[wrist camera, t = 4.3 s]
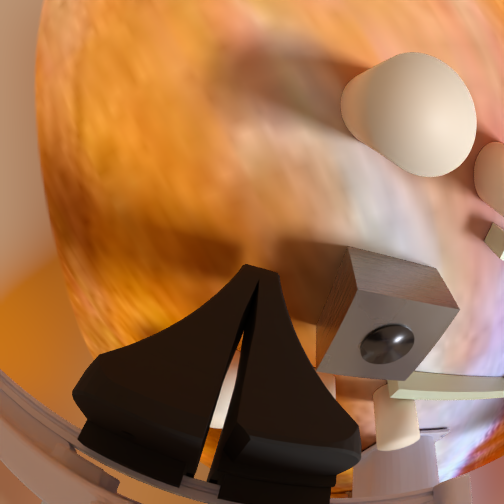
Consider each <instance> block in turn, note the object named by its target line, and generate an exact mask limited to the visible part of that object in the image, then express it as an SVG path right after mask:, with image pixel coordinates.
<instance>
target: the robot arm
mask: <svg viewBox="0 0 504 504" xmlns="http://www.w3.org/2000/svg"><path fill="white" fill-rule="evenodd" d="M243 331H244V334H243ZM242 334H243V340H242V346H241V352H240V358H239V364H238V370H237V376H236V381H235V386H234V390H233V393H232V397H231V400H230V404H229V408H228V411H227V415H226V418H225V422H224V425H223V428H222V432H221V435H220V439H219V442H218V445H217V449H216V452H215V455H214V459H213V462H212V465H211V469H210V472H209V475H208V478H207V482H205V481H201V480H198V479H194V475H195V473H196V470H197V467H198V464H199V461H200V457H201V454H202V451H203V448H204V444H205V441H206V438H207V434H208V431H209V428H210V424H211V421H212V418H213V415H214V411H215V408H216V405H217V401H218V398H219V395H220V391H221V388H222V385H223V382H224V379H225V376H226V374H227V371H228V369H229V366H230V364H231V361H232V359H233V356H234V354H235V351H236V349H237V346H238V344H239V342H240V339H241V337H242ZM72 396H73V399H74V401H75V402H76V404H77V406H78V407H79V408H80V410H81V411H82V412H83V414H84V415H85V417H86V418H87V421H86V423H85V425H84V427H83V429H82V430H81V429H80V428H78V427H76V426H75V425H73V424H71V423H70V422H68V421H67V420H65V419H64V418H62V417H60V416H59V415H57V414H56V413H54V412H53V411H52V410H50V409H49V408H47V407H46V406H45V405H43V404H42V403H40V402H39V401H38V400H36V399H35V398H34V397H33V396H31V395H30V394H29V393H27V392H26V391H25V390H24V389H22V388H21V387H20V386H19V385H18V384H16V383H15V382H14V381H13V380H12V379H11V378H10V377H8V376H7V375H6V374H5V373H4V372H3V371H2V370H1V369H0V460H1V461H2V462H3V463H4V464H5V465H6V467H8V469H9V470H10V471H11V472H12V473H13V474H14V475H15V476H16V477H17V478H18V479H19V480H20V481H21V482H22V483H24V484H25V485H26V486H27V487H28V488H29V489H30V490H31V491H32V492H33V493H34V494H36V495H37V496H38V497H39V498H40V499H41V500H42V503H41V504H141V503H139V502H137V501H134V500H132V499H129V498H127V497H125V496H123V495H121V494H118V493H117V488H118V486H119V483H120V482H119V480H118V479H116V478H114V477H113V476H111V475H109V474H107V473H106V472H105V471H104V470H103V469H101V468H99V467H98V466H96V465H94V464H93V463H91V462H89V461H87V460H86V459H84V458H83V457H81V456H79V455H78V454H77V452H76V450H75V448H76V449H78V450H79V451H81V452H83V453H84V454H86V455H88V456H89V457H91V458H93V459H95V460H97V461H99V462H100V463H102V464H104V465H106V466H108V467H110V468H112V469H115V470H116V471H119V472H121V473H123V474H125V475H127V476H129V477H131V478H134V479H136V480H138V481H141V482H143V483H146V484H149V485H151V486H153V487H156V488H159V489H162V490H164V491H167V492H170V493H173V494H176V495H179V496H183V497H186V498H189V499H193V500H196V501H200V502H204V503H208V504H472V493H471V482H470V475H469V474H466V475H463V476H459V477H456V478H452V479H449V480H447V481H444V482H442V483H439V478H438V467H437V458H436V450H435V442H436V441H438V440H440V439H441V438H443V437H444V436H446V435H447V434H449V433H450V429H440V430H426V431H420V439H419V440H418V441H416V442H415V443H413V444H411V445H409V446H407V447H404V448H401V449H397V450H391V451H380V450H378V449H377V443H376V444H375V445H373V446H371V447H370V448H368V449H366V450H365V451H363V452H361V438H360V432H359V426H358V424H357V423H356V422H355V421H354V420H353V419H352V418H351V417H350V415H349V414H348V413H347V412H346V411H345V410H344V409H343V408H342V407H341V406H340V404H339V403H338V402H337V401H336V400H335V398H334V397H333V396H332V394H331V393H330V392H329V390H328V389H327V388H326V386H325V385H324V383H323V382H322V380H321V379H320V377H319V376H318V374H317V372H316V371H315V369H314V368H313V366H312V364H311V363H310V361H309V359H308V357H307V355H306V354H305V352H304V350H303V348H302V346H301V343H300V341H299V339H298V337H297V335H296V332H295V330H294V327H293V325H292V322H291V319H290V316H289V313H288V310H287V307H286V304H285V300H284V297H283V293H282V288H281V283H280V276H279V274H278V273H277V272H273V271H269V270H266V269H262V268H259V267H255V266H251V265H248V264H245V265H243V266H242V267H241V269H240V270H239V271H238V273H237V274H236V275H235V276H234V277H233V278H232V279H231V280H230V282H229V283H228V284H226V285H225V286H224V287H223V288H222V289H221V290H220V291H219V292H218V293H217V294H216V295H215V296H213V297H212V298H211V299H210V300H209V301H207V302H206V303H205V304H204V305H202V306H201V307H200V308H198V309H197V310H196V311H194V312H193V313H191V314H190V315H188V316H187V317H185V318H184V319H182V320H180V321H179V322H177V323H175V324H173V325H172V326H170V327H168V328H166V329H164V330H162V331H161V332H158V333H156V334H154V335H152V336H150V337H147V338H145V339H143V340H141V341H138V342H136V343H133V344H131V345H128V346H125V347H122V348H119V349H116V350H113V351H110V352H106V353H103V354H99V356H98V357H97V358H96V359H95V360H94V361H93V362H92V363H91V364H90V366H89V367H88V368H87V369H86V371H85V372H84V374H83V375H82V377H81V378H80V380H79V381H78V383H77V385H76V386H75V388H74V389H73V391H72ZM352 467H353V490H352V498H330V494H331V487H334V486H335V484H336V475H337V474H339V473H342V472H344V471H346V470H348V469H350V468H352Z"/></svg>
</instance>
